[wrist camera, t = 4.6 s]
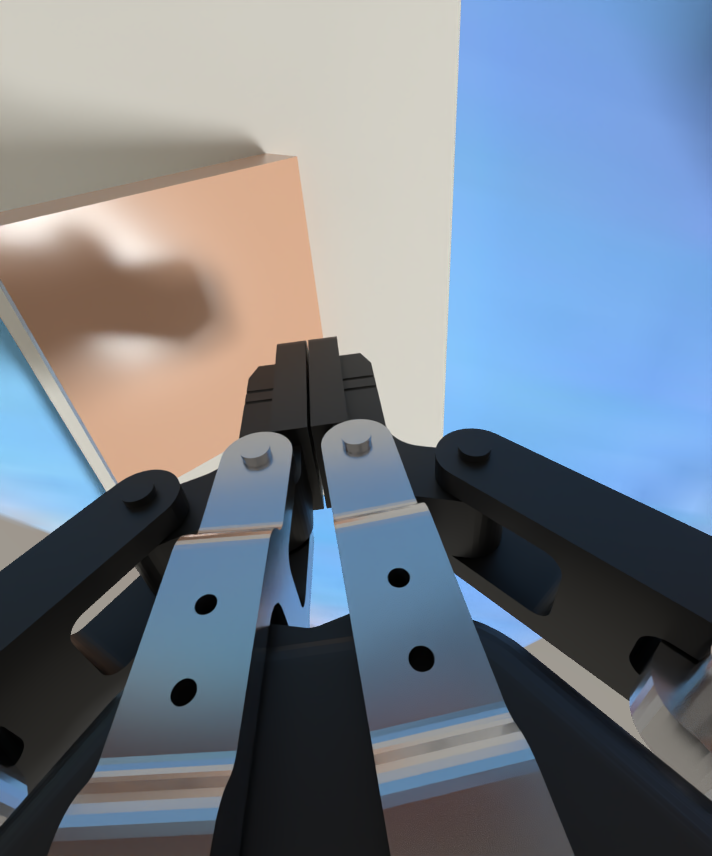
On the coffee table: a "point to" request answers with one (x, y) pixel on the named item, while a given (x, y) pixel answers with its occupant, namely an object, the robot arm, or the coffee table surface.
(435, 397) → the stone board
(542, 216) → the coffee table surface
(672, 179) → the coffee table surface
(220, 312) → the tile
